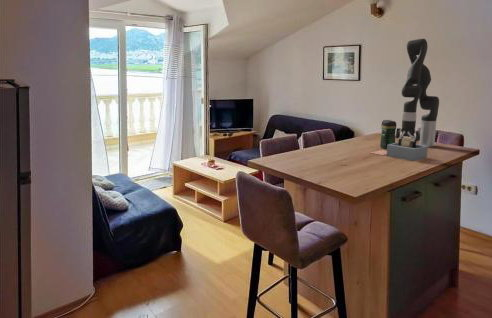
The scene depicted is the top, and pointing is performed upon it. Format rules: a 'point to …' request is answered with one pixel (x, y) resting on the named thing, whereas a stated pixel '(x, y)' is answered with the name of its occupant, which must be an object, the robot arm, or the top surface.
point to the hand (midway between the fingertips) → (406, 146)
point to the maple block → (407, 143)
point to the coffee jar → (387, 133)
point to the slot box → (407, 152)
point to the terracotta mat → (380, 152)
